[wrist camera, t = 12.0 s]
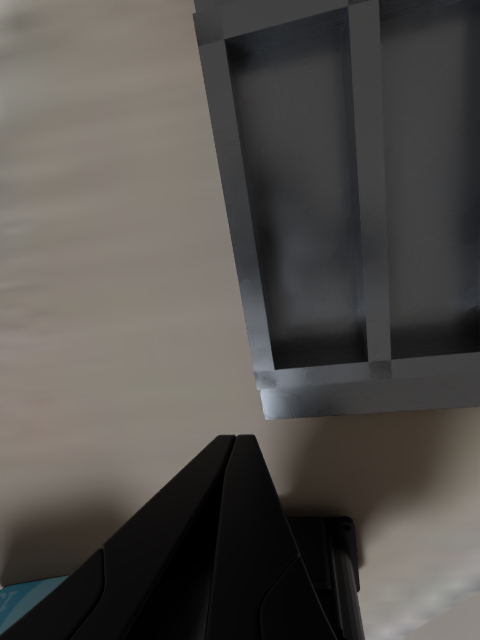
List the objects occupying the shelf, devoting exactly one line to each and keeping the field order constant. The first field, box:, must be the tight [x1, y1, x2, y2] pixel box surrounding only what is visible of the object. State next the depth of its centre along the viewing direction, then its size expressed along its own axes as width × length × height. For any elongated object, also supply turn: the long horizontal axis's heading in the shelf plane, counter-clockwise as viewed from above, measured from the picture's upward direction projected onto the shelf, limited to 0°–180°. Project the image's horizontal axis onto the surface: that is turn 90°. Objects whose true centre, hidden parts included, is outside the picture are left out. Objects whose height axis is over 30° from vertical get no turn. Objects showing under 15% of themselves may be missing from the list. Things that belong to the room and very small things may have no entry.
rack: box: [193, 0, 480, 420], centre depth 15 cm, size 22×18×3 cm
